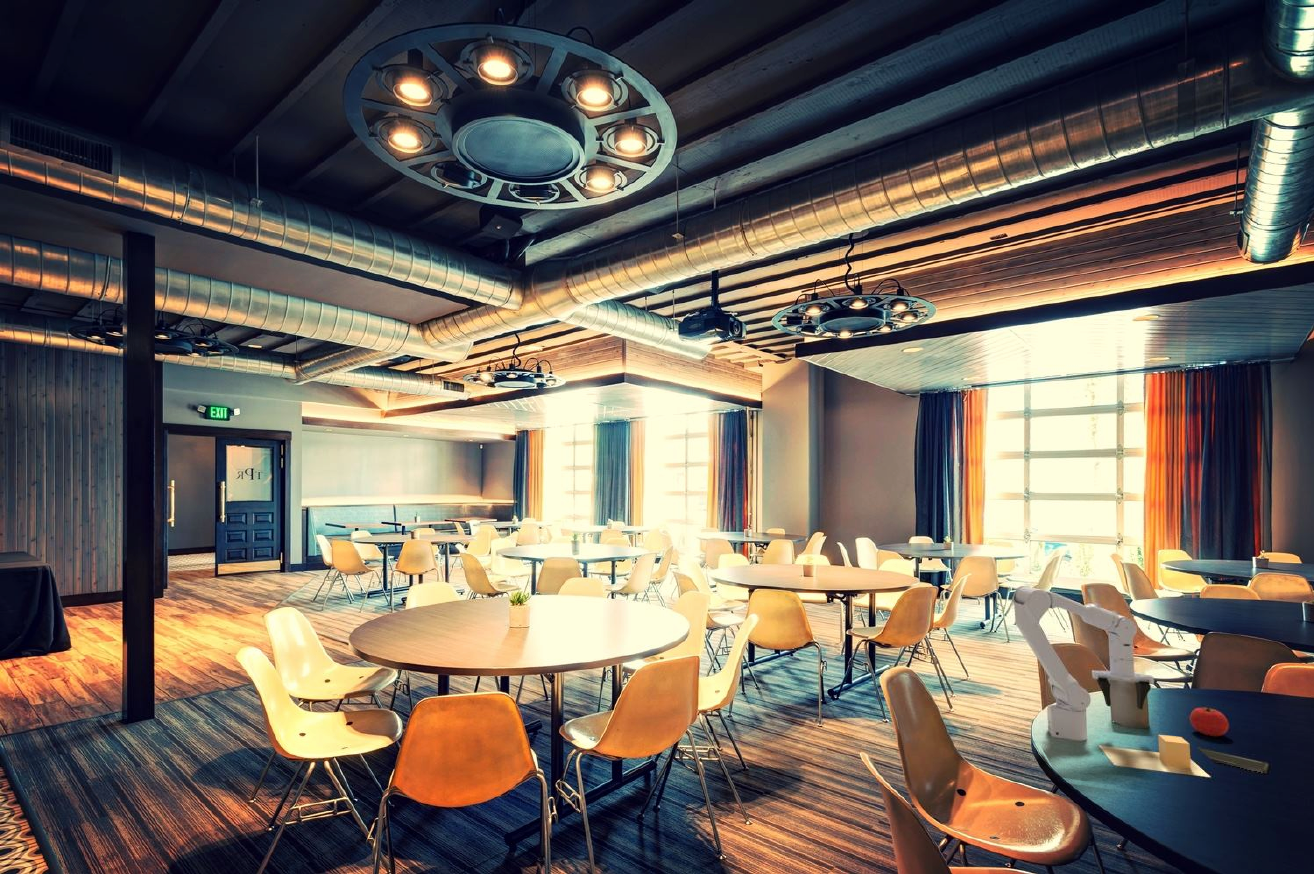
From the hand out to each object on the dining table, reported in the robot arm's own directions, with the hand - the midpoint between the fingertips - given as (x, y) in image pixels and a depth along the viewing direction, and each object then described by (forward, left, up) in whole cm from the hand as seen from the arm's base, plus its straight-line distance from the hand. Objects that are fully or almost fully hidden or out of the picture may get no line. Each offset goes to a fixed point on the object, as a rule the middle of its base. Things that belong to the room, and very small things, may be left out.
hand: (1123, 706), depth 188 cm
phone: (+21, -7, -10) cm, 24 cm away
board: (+1, -17, -9) cm, 19 cm away
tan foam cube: (+6, -17, -8) cm, 20 cm away
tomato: (+25, +15, -10) cm, 31 cm away
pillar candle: (+6, +18, -10) cm, 21 cm away
